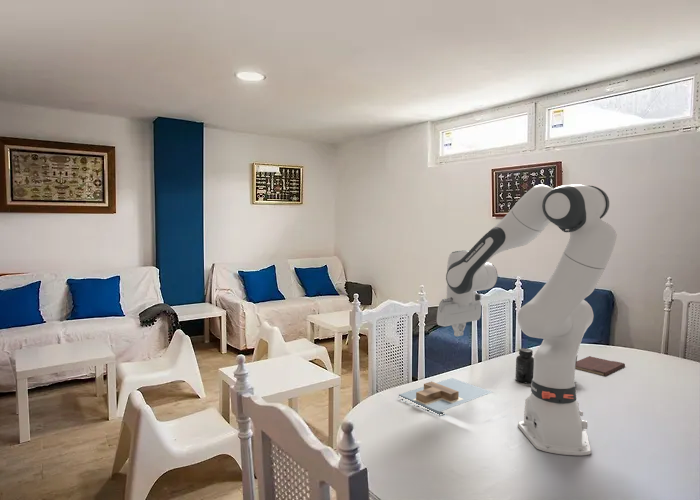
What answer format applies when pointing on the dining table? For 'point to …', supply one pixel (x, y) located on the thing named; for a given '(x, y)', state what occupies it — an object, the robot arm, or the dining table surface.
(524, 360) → the supplement bottle
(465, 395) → the board
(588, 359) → the notebook
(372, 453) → the dining table surface
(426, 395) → the t block
